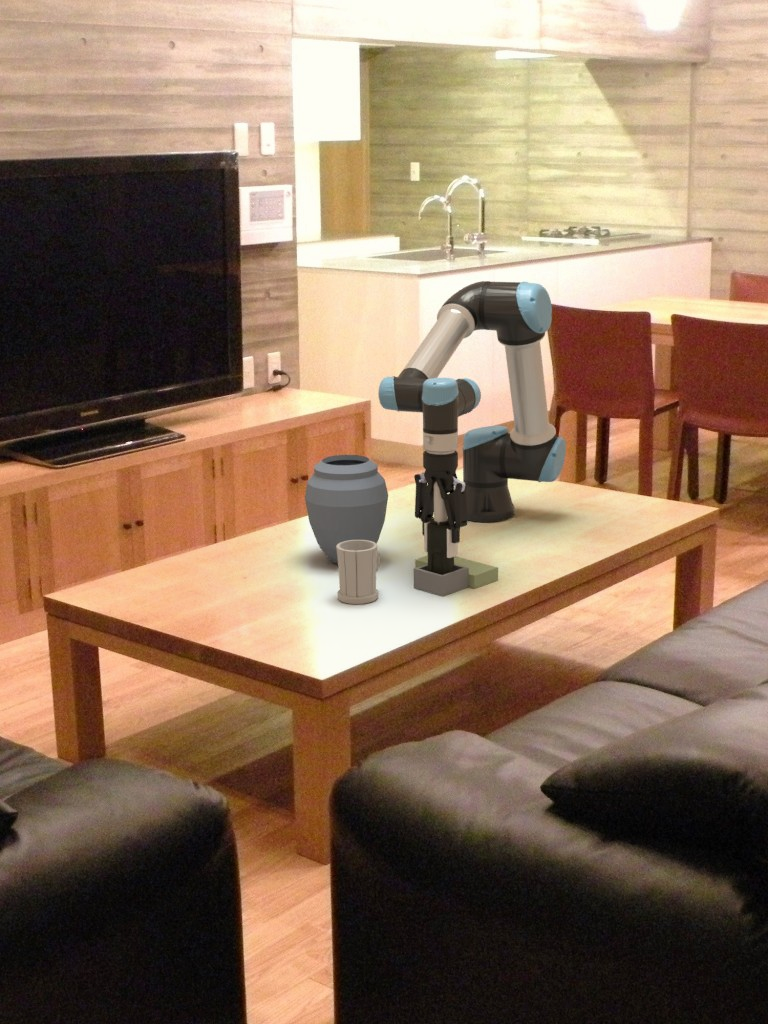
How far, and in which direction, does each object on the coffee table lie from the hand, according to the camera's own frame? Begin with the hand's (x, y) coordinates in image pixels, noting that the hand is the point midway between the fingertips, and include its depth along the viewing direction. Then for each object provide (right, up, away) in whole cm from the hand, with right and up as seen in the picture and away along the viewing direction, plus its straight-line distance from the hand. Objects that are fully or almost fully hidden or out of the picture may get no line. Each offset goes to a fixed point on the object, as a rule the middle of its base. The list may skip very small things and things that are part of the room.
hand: (441, 553), depth 303 cm
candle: (0, -6, +2) cm, 6 cm away
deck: (+1, -6, +7) cm, 9 cm away
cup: (-18, -10, -3) cm, 21 cm away
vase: (-21, -3, +23) cm, 31 cm away
